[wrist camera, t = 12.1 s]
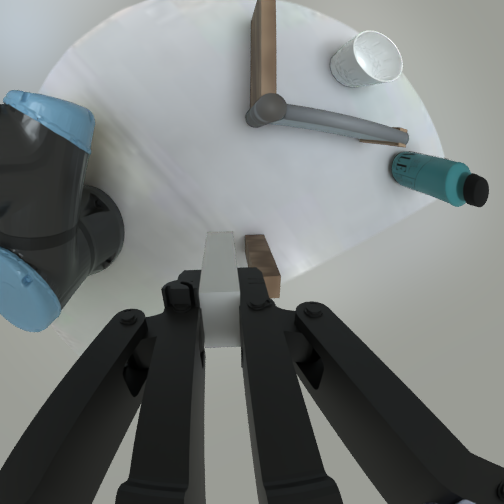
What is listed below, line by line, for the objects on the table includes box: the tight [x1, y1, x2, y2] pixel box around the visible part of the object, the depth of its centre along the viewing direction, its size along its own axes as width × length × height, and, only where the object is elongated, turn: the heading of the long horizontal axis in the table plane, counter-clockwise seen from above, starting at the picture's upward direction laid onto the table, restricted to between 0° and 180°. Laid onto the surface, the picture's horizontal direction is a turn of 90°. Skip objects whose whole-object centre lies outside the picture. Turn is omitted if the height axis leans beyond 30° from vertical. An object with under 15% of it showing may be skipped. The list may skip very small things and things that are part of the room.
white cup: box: [330, 31, 403, 87], centre depth 30 cm, size 8×8×10 cm
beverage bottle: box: [392, 152, 489, 207], centre depth 32 cm, size 6×7×20 cm
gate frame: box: [245, 0, 287, 298], centre depth 31 cm, size 3×38×14 cm, turn 0°
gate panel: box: [269, 104, 409, 148], centre depth 32 cm, size 16×2×12 cm, turn 85°
